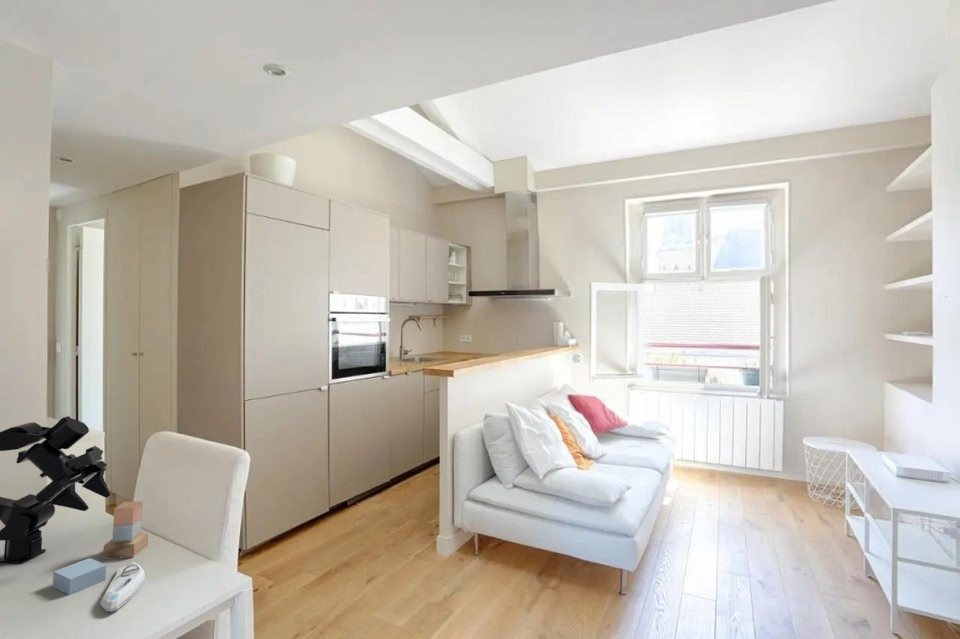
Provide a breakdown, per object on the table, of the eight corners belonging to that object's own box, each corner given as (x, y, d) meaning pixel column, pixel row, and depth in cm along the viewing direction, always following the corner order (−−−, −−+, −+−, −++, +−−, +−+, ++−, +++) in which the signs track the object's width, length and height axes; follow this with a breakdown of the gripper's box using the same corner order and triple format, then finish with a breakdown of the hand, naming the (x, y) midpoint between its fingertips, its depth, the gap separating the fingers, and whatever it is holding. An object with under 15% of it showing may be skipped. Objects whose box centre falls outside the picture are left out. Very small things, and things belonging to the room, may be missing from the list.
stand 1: (52, 586, 104) (53, 571, 104) (88, 572, 110) (89, 557, 110) (69, 595, 101) (70, 579, 101) (105, 579, 108) (106, 564, 108)
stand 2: (102, 559, 117) (103, 545, 117) (118, 546, 123) (119, 533, 124) (133, 557, 118) (134, 544, 118) (147, 544, 125) (148, 532, 125)
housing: (112, 542, 118) (114, 508, 118) (122, 535, 123) (124, 501, 123) (131, 542, 119) (133, 507, 119) (140, 534, 123) (142, 501, 124)
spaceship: (134, 612, 97) (135, 591, 97) (94, 621, 94) (95, 599, 94) (152, 561, 117) (153, 544, 117) (120, 567, 114) (121, 549, 114)
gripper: (53, 448, 110) (102, 493, 112) (101, 431, 128) (142, 469, 130) (13, 482, 108) (63, 526, 110) (67, 459, 126) (109, 498, 128)
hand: (98, 502), depth 120 cm, fingers open, 9 cm apart
